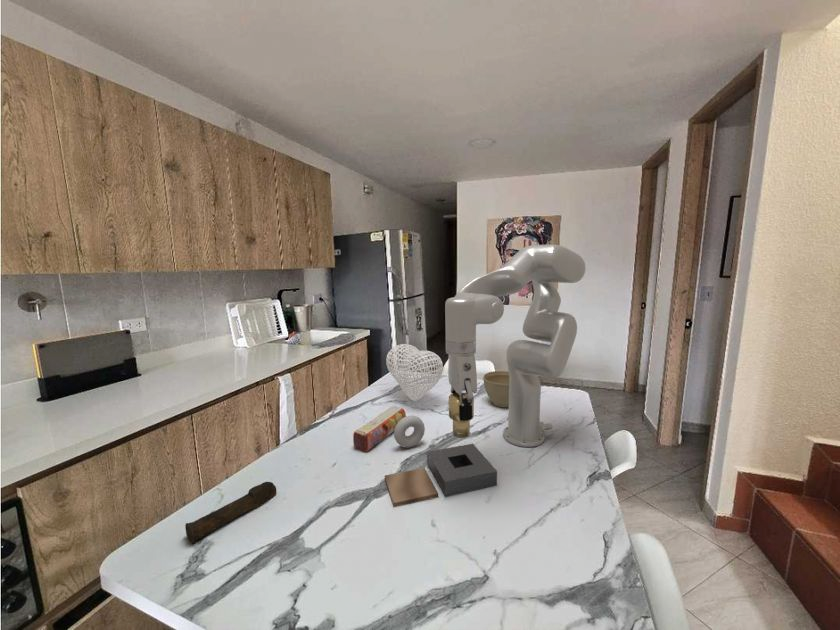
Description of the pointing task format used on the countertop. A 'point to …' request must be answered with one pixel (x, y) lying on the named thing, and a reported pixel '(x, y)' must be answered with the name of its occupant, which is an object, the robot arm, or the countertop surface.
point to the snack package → (378, 428)
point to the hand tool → (230, 511)
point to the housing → (461, 469)
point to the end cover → (459, 427)
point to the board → (410, 487)
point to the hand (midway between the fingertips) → (461, 413)
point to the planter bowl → (497, 387)
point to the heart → (414, 352)
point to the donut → (403, 426)
